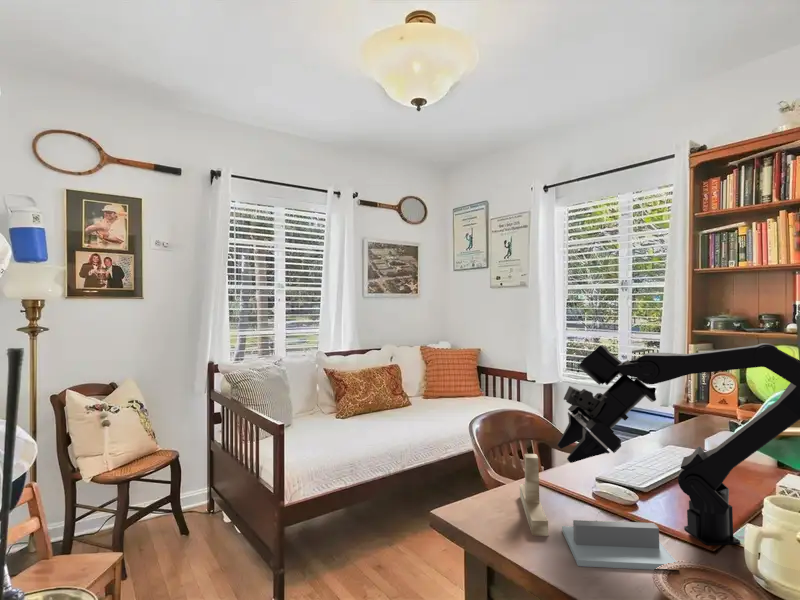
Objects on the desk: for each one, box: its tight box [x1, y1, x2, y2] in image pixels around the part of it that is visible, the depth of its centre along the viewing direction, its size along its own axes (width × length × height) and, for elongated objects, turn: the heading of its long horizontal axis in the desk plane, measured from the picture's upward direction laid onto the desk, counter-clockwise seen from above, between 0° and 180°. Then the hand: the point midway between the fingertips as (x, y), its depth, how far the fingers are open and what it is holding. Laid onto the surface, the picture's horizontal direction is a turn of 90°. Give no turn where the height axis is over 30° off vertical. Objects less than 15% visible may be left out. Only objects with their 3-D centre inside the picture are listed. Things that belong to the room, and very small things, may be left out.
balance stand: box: [561, 519, 677, 571], centre depth 82 cm, size 16×12×4 cm
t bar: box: [519, 453, 549, 537], centre depth 97 cm, size 3×18×12 cm, turn 173°
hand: (563, 453), depth 96 cm, fingers open, 9 cm apart
